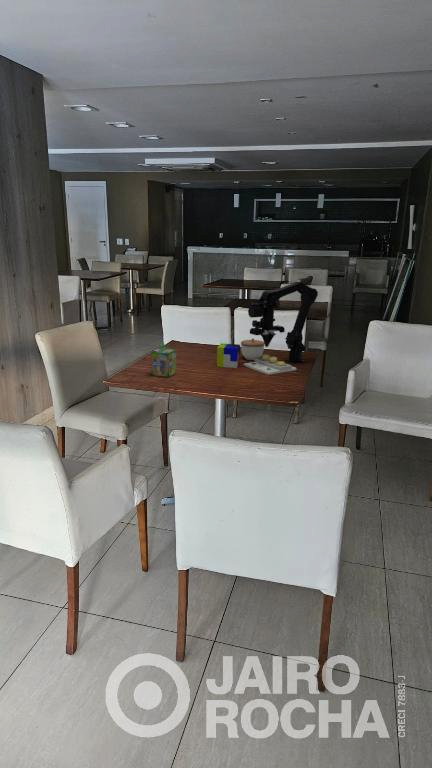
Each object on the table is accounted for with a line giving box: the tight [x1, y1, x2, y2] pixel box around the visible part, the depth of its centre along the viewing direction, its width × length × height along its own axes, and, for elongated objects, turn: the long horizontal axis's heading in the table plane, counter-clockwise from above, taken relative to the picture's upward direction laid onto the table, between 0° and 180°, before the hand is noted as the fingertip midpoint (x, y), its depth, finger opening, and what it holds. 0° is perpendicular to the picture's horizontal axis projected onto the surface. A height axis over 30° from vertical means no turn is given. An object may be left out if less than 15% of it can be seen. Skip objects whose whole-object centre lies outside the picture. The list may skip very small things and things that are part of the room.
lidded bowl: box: [240, 338, 265, 361], centre depth 267 cm, size 13×13×11 cm
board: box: [243, 357, 297, 376], centre depth 250 cm, size 18×20×3 cm
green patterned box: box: [150, 342, 177, 378], centre depth 233 cm, size 9×9×15 cm
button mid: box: [269, 356, 278, 364], centre depth 251 cm, size 4×4×3 cm
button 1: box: [261, 353, 270, 361], centre depth 255 cm, size 4×4×3 cm
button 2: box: [277, 360, 286, 367], centre depth 246 cm, size 4×4×3 cm
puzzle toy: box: [216, 343, 241, 369], centre depth 253 cm, size 10×10×10 cm
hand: (266, 346), depth 254 cm, fingers closed
